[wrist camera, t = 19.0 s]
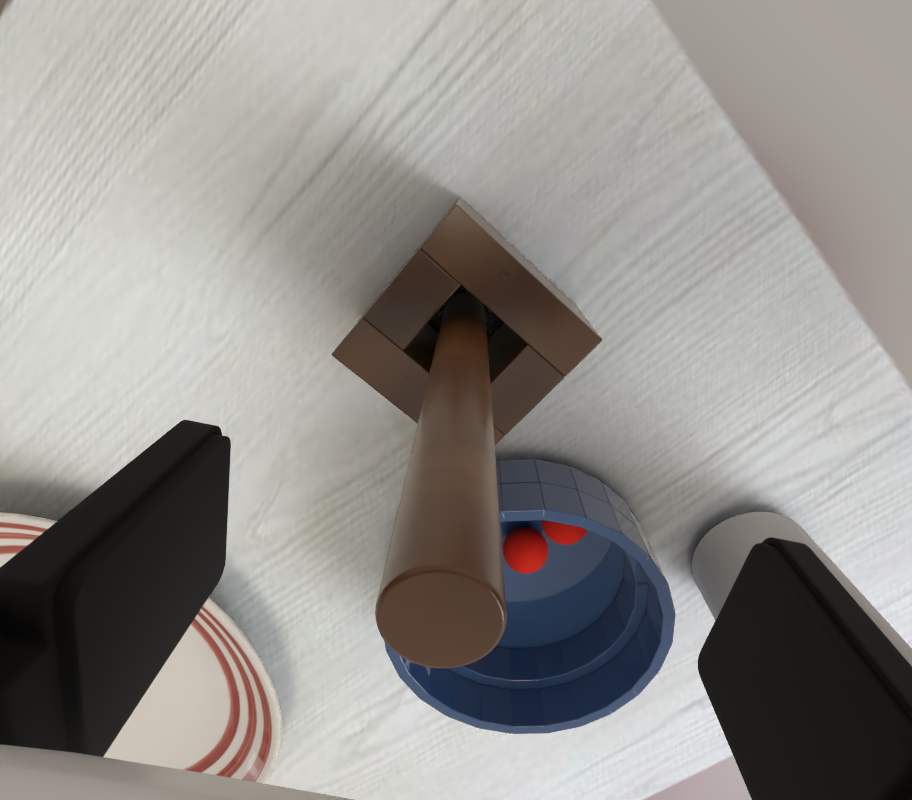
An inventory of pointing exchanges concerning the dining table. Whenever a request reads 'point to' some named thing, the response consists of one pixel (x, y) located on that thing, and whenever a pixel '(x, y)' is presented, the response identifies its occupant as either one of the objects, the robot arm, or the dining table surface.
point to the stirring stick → (449, 511)
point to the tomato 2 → (563, 532)
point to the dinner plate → (193, 693)
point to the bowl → (561, 614)
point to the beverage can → (731, 546)
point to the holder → (496, 286)
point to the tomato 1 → (525, 550)
